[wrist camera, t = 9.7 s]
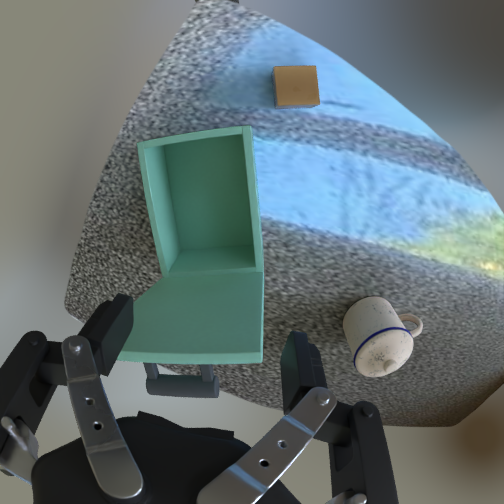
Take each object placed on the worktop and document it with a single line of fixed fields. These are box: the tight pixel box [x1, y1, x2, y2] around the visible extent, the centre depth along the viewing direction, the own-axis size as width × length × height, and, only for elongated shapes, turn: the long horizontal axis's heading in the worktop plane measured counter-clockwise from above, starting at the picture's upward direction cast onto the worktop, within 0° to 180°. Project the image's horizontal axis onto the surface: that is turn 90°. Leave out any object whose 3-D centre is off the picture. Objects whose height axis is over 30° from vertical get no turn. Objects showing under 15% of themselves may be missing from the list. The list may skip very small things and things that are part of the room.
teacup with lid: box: [343, 296, 423, 377], centre depth 37 cm, size 12×9×12 cm
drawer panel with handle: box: [116, 272, 264, 398], centre depth 24 cm, size 16×12×5 cm
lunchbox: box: [137, 125, 264, 278], centre depth 32 cm, size 16×12×7 cm
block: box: [272, 66, 320, 109], centre depth 28 cm, size 4×4×4 cm
